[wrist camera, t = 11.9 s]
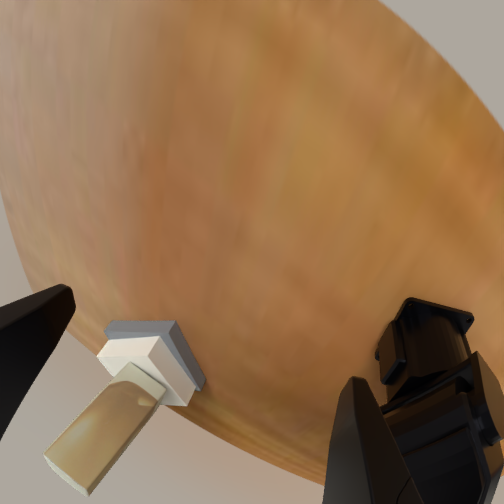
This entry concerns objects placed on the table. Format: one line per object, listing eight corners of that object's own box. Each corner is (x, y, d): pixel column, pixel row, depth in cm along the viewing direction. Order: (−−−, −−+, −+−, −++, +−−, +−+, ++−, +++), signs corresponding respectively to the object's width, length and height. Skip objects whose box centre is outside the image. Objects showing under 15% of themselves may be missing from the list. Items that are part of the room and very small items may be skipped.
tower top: (159, 335, 27) (147, 355, 25) (196, 386, 30) (187, 406, 27) (108, 339, 29) (96, 356, 27) (144, 385, 32) (135, 402, 30)
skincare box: (155, 412, 29) (88, 499, 19) (121, 387, 29) (49, 468, 19) (169, 387, 25) (86, 493, 15) (129, 357, 26) (39, 454, 15)
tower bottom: (179, 314, 28) (168, 333, 26) (208, 373, 32) (200, 391, 30) (115, 315, 31) (103, 331, 29) (148, 368, 34) (138, 384, 32)
